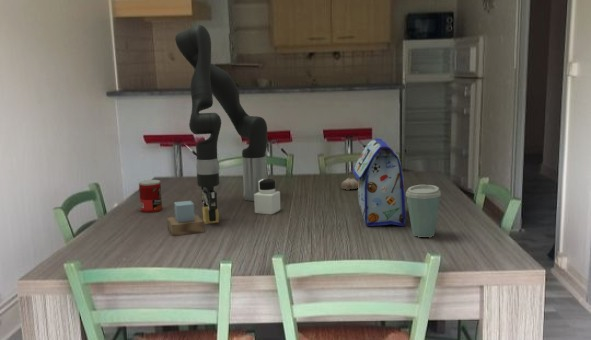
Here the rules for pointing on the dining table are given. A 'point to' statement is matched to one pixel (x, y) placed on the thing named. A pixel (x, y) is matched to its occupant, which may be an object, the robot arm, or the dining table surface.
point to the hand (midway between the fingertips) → (210, 218)
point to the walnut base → (185, 226)
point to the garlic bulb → (350, 183)
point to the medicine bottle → (267, 197)
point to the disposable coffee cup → (423, 209)
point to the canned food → (150, 195)
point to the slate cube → (184, 211)
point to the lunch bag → (380, 185)
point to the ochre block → (206, 215)
